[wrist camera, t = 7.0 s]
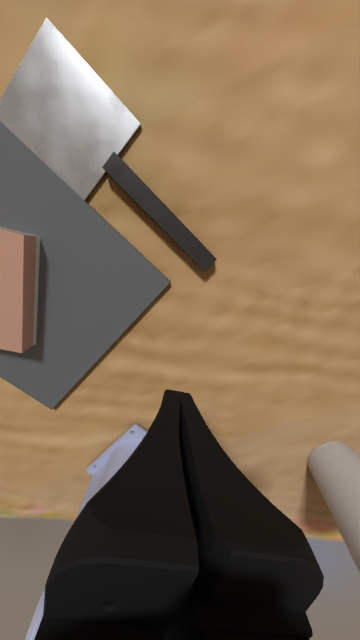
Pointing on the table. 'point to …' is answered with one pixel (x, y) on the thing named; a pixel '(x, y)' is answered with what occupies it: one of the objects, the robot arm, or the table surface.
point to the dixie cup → (340, 489)
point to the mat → (68, 276)
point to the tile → (18, 289)
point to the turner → (81, 129)
